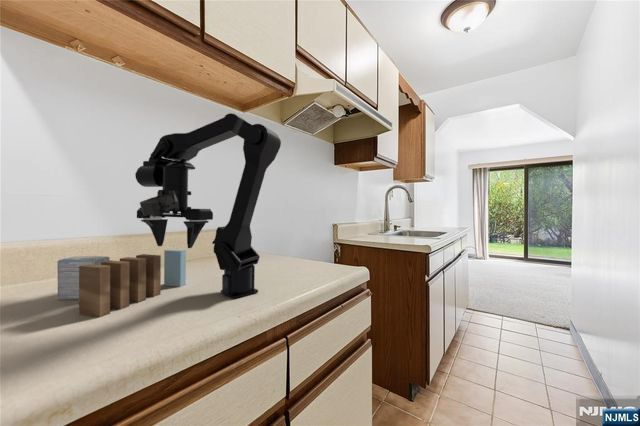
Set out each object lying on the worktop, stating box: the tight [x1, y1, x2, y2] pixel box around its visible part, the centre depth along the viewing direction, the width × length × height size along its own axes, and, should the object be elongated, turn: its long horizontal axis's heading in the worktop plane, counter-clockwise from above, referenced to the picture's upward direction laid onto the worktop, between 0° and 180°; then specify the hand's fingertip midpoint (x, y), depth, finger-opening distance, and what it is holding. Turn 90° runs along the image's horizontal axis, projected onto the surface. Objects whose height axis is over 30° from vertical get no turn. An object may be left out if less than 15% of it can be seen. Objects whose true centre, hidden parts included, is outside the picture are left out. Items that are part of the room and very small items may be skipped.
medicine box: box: [56, 255, 111, 300], centre depth 57 cm, size 8×4×9 cm, turn 92°
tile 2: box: [135, 253, 162, 298], centre depth 59 cm, size 2×5×9 cm, turn 77°
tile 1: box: [163, 248, 187, 288], centre depth 67 cm, size 2×5×9 cm, turn 76°
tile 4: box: [101, 259, 130, 311], centre depth 52 cm, size 2×5×9 cm, turn 77°
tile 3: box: [119, 256, 147, 304], centre depth 56 cm, size 2×5×9 cm, turn 77°
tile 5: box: [78, 264, 111, 318], centre depth 48 cm, size 2×5×9 cm, turn 77°
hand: (174, 247), depth 67 cm, fingers open, 9 cm apart
